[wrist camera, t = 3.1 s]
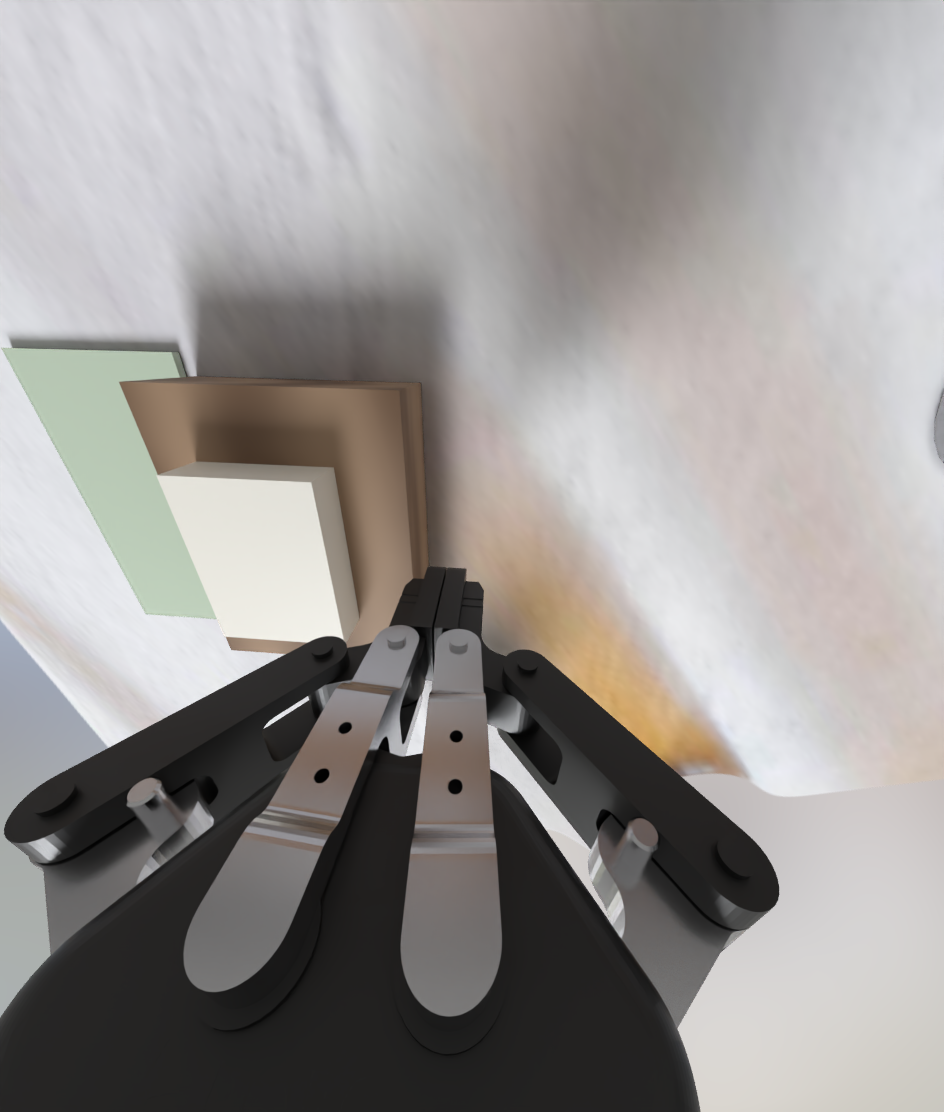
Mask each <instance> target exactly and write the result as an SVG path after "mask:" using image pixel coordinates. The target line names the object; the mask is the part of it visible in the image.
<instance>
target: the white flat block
mask: <svg viewBox="0 0 944 1112" xmlns="http://www.w3.org/2000/svg"><path fill="white" fill-rule="evenodd" d="M156 476H157V478H158V481H159V483H160V486H161V488H162V490H163V493H164V495H165V497H166V500H167V502H168V504H169V507H170V509H171V512H172V514H173V516H174V519H175V521H176V523H177V526H178V528H179V530H180V533H181V535H182V538H183V540H184V542H185V545H186V547H187V549H188V552H189V554H190V557H191V559H192V561H193V564H194V566H195V568H196V571H197V573H198V575H199V578H200V580H201V583H202V585H203V587H204V590H205V592H206V594H207V597H208V599H209V601H210V604H211V606H212V609H213V611H214V613H215V616H216V618H217V620H218V623H219V625H220V627H221V630H222V632H223V635H224V637H236V638H250V639H264V640H278V641H292V642H306V643H308V642H310V641H312V640H314V639H317V638H320V637H325V636H335V637H339V638H341V639H343V640H344V641H345V642H347V640H348V639H349V637H350V635H351V633H352V631H353V629H354V628H355V626H356V624H357V622H358V620H359V612H358V607H357V601H356V595H355V589H354V583H353V577H352V571H351V566H350V560H349V554H348V548H347V542H346V536H345V531H344V525H343V519H342V513H341V507H340V501H339V495H338V490H337V484H336V478H335V472H334V467H311V466H288V465H265V464H242V463H219V462H193V463H190V464H187V465H185V466H182V467H179V468H176V469H173V470H170V471H167V472H164V473H161V474H159V475H156Z"/></svg>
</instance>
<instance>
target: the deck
mask: <svg viewBox="0 0 944 1112" xmlns="http://www.w3.org/2000/svg"><path fill="white" fill-rule="evenodd" d="M119 384H120V386H121V388H122V391H123V393H124V396H125V398H126V400H127V403H128V405H129V407H130V410H131V412H132V415H133V417H134V419H135V422H136V424H137V427H138V429H139V431H140V434H141V436H142V438H143V441H144V443H145V446H146V448H147V450H148V453H149V455H150V457H151V460H152V462H153V465H154V467H155V469H156V472H157V474H158V475H159V474H161V473H164V472H167V471H170V470H173V469H176V468H179V467H182V466H185V465H187V464H190V463H193V462H219V463H242V464H265V465H288V466H311V467H334V472H335V478H336V484H337V490H338V495H339V501H340V507H341V513H342V519H343V525H344V531H345V536H346V542H347V548H348V554H349V560H350V566H351V571H352V577H353V583H354V589H355V595H356V601H357V607H358V612H359V620H358V622H357V624H356V626H355V628H354V629H353V631H352V633H351V635H350V637H349V639H348V640H347V642H346V644H347V648H349V647H354V646H360V645H365V644H369V643H372V642H373V641H374V639H375V637H376V636H377V634H378V633H379V632H380V631H382V630H383V629H385V628H387V627H389V625H390V622H391V620H392V617H393V615H394V612H395V610H396V607H397V605H398V603H399V600H400V597H401V596H402V592H403V590H404V587H405V585H406V584H407V583H409V582H410V581H411V580H412V579H413V578H417V579H424V576H425V573H426V570H427V567H429V555H428V532H427V510H426V487H425V465H424V442H423V420H422V397H421V383H406V382H372V381H338V380H304V379H270V378H236V377H202V376H194V377H179V378H165V379H151V380H136V381H122V382H119ZM226 638H227V641H228V643H229V646H230V648H231V650H239V651H253V652H267V653H280V654H287V653H289V652H291V651H293V650H295V649H297V648H299V647H301V646H302V645H304V644H306V642H292V641H278V640H264V639H250V638H236V637H226Z"/></svg>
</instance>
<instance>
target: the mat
mask: <svg viewBox="0 0 944 1112" xmlns="http://www.w3.org/2000/svg"><path fill="white" fill-rule="evenodd" d="M2 350H3V352H4V354H5V356H6V358H7V359H8V361H9V363H10V365H11V367H12V369H13V371H14V372H15V374H16V376H17V378H18V380H19V382H20V383H21V385H22V387H23V389H24V391H25V393H26V394H27V396H28V398H29V400H30V402H31V404H32V405H33V407H34V409H35V411H36V413H37V415H38V417H39V418H40V420H41V422H42V424H43V426H44V428H45V429H46V431H47V433H48V435H49V437H50V439H51V440H52V442H53V444H54V446H55V448H56V450H57V452H58V453H59V455H60V457H61V459H62V461H63V463H64V464H65V466H66V468H67V470H68V472H69V474H70V475H71V477H72V479H73V481H74V483H75V485H76V486H77V488H78V490H79V492H80V494H81V496H82V498H83V499H84V501H85V503H86V505H87V507H88V509H89V510H90V512H91V514H92V516H93V518H94V520H95V521H96V523H97V525H98V527H99V529H100V531H101V533H102V534H103V536H104V538H105V540H106V542H107V544H108V545H109V547H110V549H111V551H112V553H113V555H114V556H115V558H116V560H117V562H118V564H119V566H120V567H121V569H122V571H123V573H124V575H125V577H126V579H127V580H128V582H129V584H130V586H131V588H132V590H133V591H134V593H135V595H136V597H137V599H138V601H139V602H140V604H141V606H142V608H143V610H144V612H145V613H146V614H150V615H164V616H179V617H194V618H208V619H217V618H216V616H215V613H214V611H213V609H212V606H211V604H210V601H209V599H208V597H207V594H206V592H205V590H204V587H203V585H202V583H201V580H200V578H199V575H198V573H197V571H196V568H195V566H194V564H193V561H192V559H191V557H190V554H189V552H188V549H187V547H186V545H185V542H184V540H183V538H182V535H181V533H180V530H179V528H178V526H177V523H176V521H175V519H174V516H173V514H172V512H171V509H170V507H169V504H168V502H167V500H166V497H165V495H164V493H163V490H162V488H161V486H160V483H159V481H158V478H157V476H156V475H158V474H157V472H156V469H155V467H154V465H153V462H152V460H151V457H150V455H149V453H148V450H147V448H146V446H145V443H144V441H143V438H142V436H141V434H140V431H139V429H138V427H137V424H136V422H135V419H134V417H133V415H132V412H131V410H130V407H129V405H128V403H127V400H126V398H125V396H124V393H123V391H122V388H121V386H120V384H119V382H122V381H136V380H151V379H165V378H179V377H186V374H185V371H184V368H183V365H182V362H181V359H180V356H179V353H178V352H147V351H108V350H69V349H29V348H2Z"/></svg>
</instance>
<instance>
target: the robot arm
mask: <svg viewBox="0 0 944 1112" xmlns="http://www.w3.org/2000/svg"><path fill="white" fill-rule="evenodd" d="M934 441H935V445H936V448H937V452H938V455H939V458H940V459H941V460H942V462H943V463H944V394H943V396H942V398H941V402H940V405H939V409H938V412H937V415H936V419H935V434H934ZM483 595H484V590H483V588H482V587H481V585H480V583H479V582H468V581H466V569H463V568H445V567H427V570H426V573H425V576H424V579H417V578H413V579H412V580H411V581H410V582H409V583H407V584H406V585H405V587H404V590H403V592H402V596H401V597H400V600H399V603H398V605H397V607H396V610H395V612H394V615H393V617H392V620H391V622H390V625H389V627H387V628H385V629H383V630H382V631H380V632H379V633H378V634H377V636H376V637H375V639H374V641H373V642H372V643H369V644H365V645H360V646H354V647H349V648H347V644H346V642H345V641H344V640H343V639H341V638H339V637H335V636H325V637H320V638H317V639H314V640H312V641H310V642H308V643H306V644H304V645H302V646H301V647H299V648H297V649H295V650H293V651H291V652H289V653H287V654H285V655H283V656H282V657H280V658H278V659H276V660H274V661H272V662H270V663H268V664H266V665H265V666H263V667H261V668H259V669H257V670H255V671H253V672H251V673H249V674H248V675H246V676H244V677H242V678H240V679H238V680H236V681H234V682H232V683H231V684H229V685H227V686H225V687H223V688H221V689H219V690H217V691H215V692H214V693H212V694H210V695H208V696H206V697H204V698H202V699H200V700H198V701H196V702H195V703H193V704H191V705H189V706H187V707H185V708H183V709H181V710H179V711H178V712H176V713H174V714H172V715H170V716H168V717H166V718H164V719H162V720H161V721H159V722H157V723H155V724H153V725H151V726H149V727H147V728H145V729H144V730H142V731H140V732H138V733H136V734H134V735H132V736H130V737H128V738H127V739H125V740H123V741H121V742H119V743H117V744H115V745H113V746H111V747H110V748H108V749H106V750H104V751H102V752H100V753H98V754H96V755H94V756H92V757H91V758H89V759H87V760H85V761H83V762H81V763H79V764H78V765H76V766H74V767H72V768H70V769H68V770H66V771H65V772H62V773H60V774H59V775H57V776H55V777H53V778H51V779H50V780H48V781H46V782H45V783H43V784H42V785H40V786H39V787H37V788H36V789H35V790H34V791H32V792H31V793H30V794H29V795H27V797H25V798H24V799H23V800H22V801H21V802H20V803H19V804H18V805H17V807H16V808H15V809H14V810H13V812H12V813H11V815H10V816H9V818H8V820H7V822H6V824H5V828H4V834H5V836H6V838H7V839H8V840H9V841H10V842H11V843H12V844H14V845H15V846H16V847H18V848H19V849H20V850H21V851H23V852H24V853H25V854H26V855H28V856H29V859H30V861H31V862H32V863H33V864H34V865H35V866H36V867H38V868H39V869H40V870H42V871H43V872H44V881H45V894H46V905H47V917H48V929H49V940H50V952H51V956H50V957H49V958H48V959H47V960H46V961H45V962H44V963H43V964H42V965H41V966H40V967H39V969H38V970H37V971H36V972H35V973H34V974H33V975H32V976H31V977H30V979H29V980H28V981H27V982H26V984H25V985H24V986H23V987H22V989H21V990H20V991H19V992H18V993H17V995H16V996H15V998H14V999H13V1000H12V1002H11V1003H10V1005H9V1006H8V1007H7V1009H6V1010H5V1011H4V1013H3V1015H2V1016H1V1018H0V1112H700V1106H699V1101H698V1096H697V1091H696V1086H695V1082H694V1078H693V1074H692V1070H691V1067H690V1063H689V1060H688V1057H687V1054H686V1051H685V1048H684V1045H683V1042H682V1040H681V1037H680V1035H679V1032H678V1030H677V1028H678V1026H679V1024H680V1023H681V1021H682V1019H683V1017H684V1016H685V1014H686V1012H687V1010H688V1008H689V1007H690V1005H691V1003H692V1002H693V1000H694V998H695V996H696V994H697V993H698V991H699V989H700V987H701V986H702V984H703V982H704V981H705V979H706V977H707V975H708V973H709V972H710V970H711V968H712V967H713V965H714V963H715V961H716V959H717V958H718V956H719V954H720V953H721V952H722V951H723V950H724V949H725V948H726V947H728V946H729V945H730V944H731V943H732V942H733V941H735V940H736V939H737V938H738V937H739V936H740V935H741V934H743V933H744V932H745V931H746V930H747V929H749V928H750V927H751V926H752V925H753V924H754V923H756V922H757V921H758V920H759V919H760V918H761V917H763V916H764V915H765V914H766V913H767V912H768V911H769V910H771V908H773V907H774V906H775V905H776V903H777V901H778V897H779V884H778V879H777V877H776V873H775V871H774V869H773V866H772V864H771V863H770V861H769V859H768V858H767V856H766V855H765V853H764V852H763V851H762V849H761V848H760V847H759V846H758V845H757V843H756V842H755V841H754V840H753V839H751V837H750V836H748V835H747V834H746V833H745V832H744V831H743V830H742V829H740V828H739V827H738V826H737V825H736V824H735V823H733V822H732V821H731V820H730V819H729V818H728V817H727V816H726V815H724V814H723V813H722V812H721V811H720V810H719V809H718V808H716V807H715V806H714V805H713V804H712V803H711V802H709V801H708V800H707V799H706V798H705V797H703V795H701V794H700V793H699V792H698V791H697V790H696V789H695V788H694V787H692V786H691V785H690V784H689V783H688V782H686V781H685V780H684V779H683V778H682V777H681V776H680V775H679V774H677V773H676V772H675V771H674V770H673V769H672V768H671V767H669V766H668V765H667V764H666V763H665V762H664V761H663V760H661V759H660V758H659V757H658V756H657V755H656V754H655V753H653V752H652V751H651V750H650V749H649V748H648V747H647V746H645V745H644V744H643V743H642V742H641V741H640V740H639V739H637V738H636V737H635V736H634V735H633V734H632V733H631V732H629V731H628V730H627V729H626V728H625V727H624V726H623V725H621V724H620V723H619V722H618V721H617V720H616V719H615V718H613V717H612V716H611V715H610V714H609V713H608V712H606V711H605V710H604V709H603V708H602V707H601V706H600V705H598V704H597V703H596V702H595V701H594V700H593V699H592V698H590V697H589V696H588V695H587V694H586V693H585V692H584V691H582V690H581V689H580V688H579V687H578V686H577V685H576V684H574V683H573V682H572V681H571V680H570V679H569V678H568V677H566V676H565V675H564V674H563V673H562V672H561V671H560V670H558V669H557V668H556V667H555V666H554V665H553V664H552V663H550V662H549V661H548V660H547V659H546V658H545V657H543V656H542V655H541V654H539V653H537V652H534V651H531V650H517V651H514V652H511V653H510V654H508V655H507V656H503V655H500V654H498V653H495V652H493V651H491V650H490V649H489V648H488V647H487V646H486V645H485V644H484V643H483V641H482V637H481V633H482V614H483ZM425 680H429V681H433V682H432V691H431V692H430V694H429V700H428V709H427V718H426V728H425V737H424V746H423V753H422V754H416V755H411V756H406V752H407V748H408V745H409V742H410V738H411V735H412V732H413V729H414V725H415V722H416V719H417V715H418V712H419V709H420V706H421V702H422V692H423V689H424V684H425ZM307 696H308V697H309V701H307V702H306V703H304V704H302V705H301V706H299V707H298V708H296V709H295V710H293V711H292V712H290V713H288V714H287V715H285V716H284V717H282V718H281V719H279V720H277V721H276V722H274V723H273V724H271V725H270V726H268V727H266V728H265V729H263V728H264V727H265V725H266V724H267V723H268V722H269V721H270V720H271V719H272V718H274V717H275V716H277V715H278V714H280V713H282V712H283V711H285V710H286V709H288V708H290V707H291V706H293V705H294V704H296V703H297V702H299V701H301V700H302V699H304V698H305V697H307ZM487 724H489V725H492V726H494V727H497V730H498V733H499V735H500V737H501V738H502V739H503V741H504V742H505V743H506V744H507V746H508V747H509V748H510V749H511V751H512V752H513V753H514V754H515V756H516V757H517V758H518V759H519V761H520V762H521V763H522V764H523V766H524V767H525V768H526V769H527V771H528V772H529V773H530V774H531V775H532V777H533V778H534V779H535V780H536V782H537V783H538V784H539V785H540V787H541V788H542V789H543V790H544V792H545V793H546V794H547V795H548V797H549V798H550V799H551V800H552V802H553V803H554V804H555V805H556V807H557V808H558V809H559V810H560V812H561V813H562V814H563V815H564V817H565V818H566V819H567V820H568V822H569V823H570V824H571V825H572V827H573V828H574V829H575V830H576V832H577V833H578V834H579V835H580V837H581V838H582V839H583V840H584V842H585V843H586V844H587V845H588V847H589V848H590V849H591V851H590V854H589V860H588V868H589V874H590V878H591V881H592V884H593V886H594V888H595V890H596V892H597V893H598V895H599V897H600V898H601V900H602V902H603V904H604V906H605V908H606V910H607V913H608V916H609V919H610V922H609V920H608V919H607V917H606V916H605V915H604V913H603V912H602V910H601V909H600V907H599V906H598V904H597V903H596V901H595V900H594V899H593V897H592V896H591V894H590V893H589V891H588V890H587V889H586V887H585V886H584V884H583V883H582V881H581V880H580V878H579V877H578V876H577V874H576V873H575V871H574V870H573V869H572V867H571V866H570V864H569V863H568V861H567V860H566V859H565V857H564V856H563V854H562V853H561V851H560V850H559V848H558V847H557V845H556V844H555V843H554V841H553V840H552V839H551V837H550V836H549V834H548V833H547V831H546V830H545V828H544V827H543V825H542V824H541V822H540V821H539V820H538V818H537V817H536V815H535V814H534V812H533V811H532V809H531V808H530V807H529V805H528V804H527V802H526V801H525V799H524V798H523V797H522V795H521V794H520V793H519V792H518V790H517V789H516V788H515V787H514V786H513V785H512V784H511V783H510V782H509V781H507V780H506V779H505V778H504V777H502V776H501V775H500V774H498V773H497V772H495V771H493V770H491V769H490V760H489V743H488V726H487Z"/></svg>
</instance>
